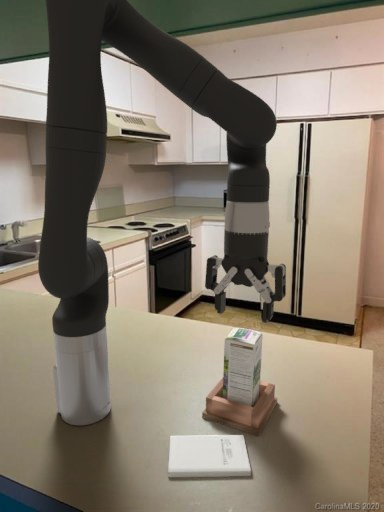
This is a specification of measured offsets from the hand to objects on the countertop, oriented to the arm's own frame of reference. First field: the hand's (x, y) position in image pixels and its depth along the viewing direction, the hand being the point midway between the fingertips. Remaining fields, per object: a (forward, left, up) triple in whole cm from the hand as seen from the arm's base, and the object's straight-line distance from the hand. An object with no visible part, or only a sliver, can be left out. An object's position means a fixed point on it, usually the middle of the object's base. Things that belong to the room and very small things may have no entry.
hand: (243, 316), depth 69 cm
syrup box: (0, 0, -18) cm, 18 cm away
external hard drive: (0, -14, -20) cm, 24 cm away
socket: (0, 0, -19) cm, 19 cm away
